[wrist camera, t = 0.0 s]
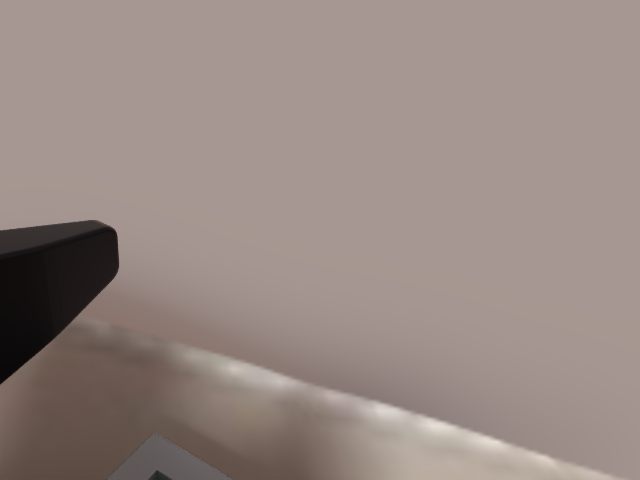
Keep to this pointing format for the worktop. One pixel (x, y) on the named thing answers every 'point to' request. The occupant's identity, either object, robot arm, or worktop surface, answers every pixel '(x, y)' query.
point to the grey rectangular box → (164, 463)
